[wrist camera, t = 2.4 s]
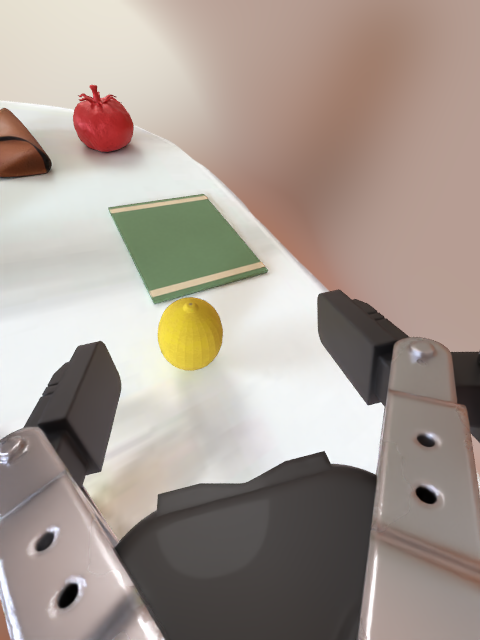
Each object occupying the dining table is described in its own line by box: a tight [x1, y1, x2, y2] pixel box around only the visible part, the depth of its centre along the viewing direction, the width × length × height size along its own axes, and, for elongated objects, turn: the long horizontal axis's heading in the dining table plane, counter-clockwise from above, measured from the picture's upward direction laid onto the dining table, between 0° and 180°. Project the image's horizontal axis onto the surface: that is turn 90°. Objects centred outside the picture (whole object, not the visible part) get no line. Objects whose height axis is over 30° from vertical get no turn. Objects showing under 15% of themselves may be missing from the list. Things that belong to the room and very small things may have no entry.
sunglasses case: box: [0, 108, 52, 178], centre depth 49 cm, size 18×7×7 cm
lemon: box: [158, 297, 223, 370], centre depth 26 cm, size 6×6×8 cm
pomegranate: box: [73, 85, 133, 152], centre depth 53 cm, size 10×10×9 cm
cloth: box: [108, 194, 268, 304], centre depth 41 cm, size 15×20×1 cm
